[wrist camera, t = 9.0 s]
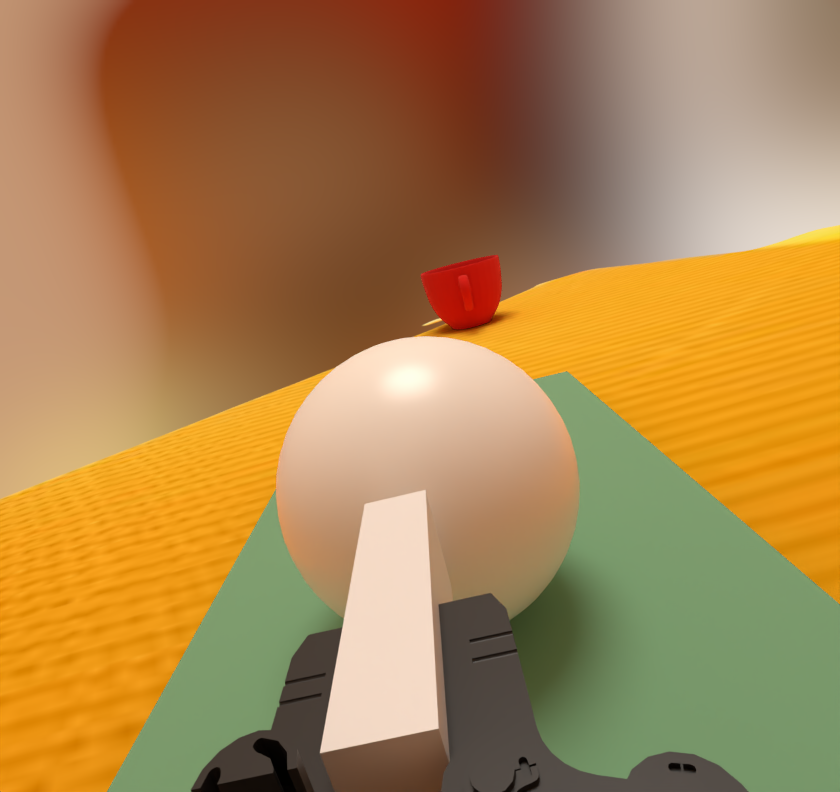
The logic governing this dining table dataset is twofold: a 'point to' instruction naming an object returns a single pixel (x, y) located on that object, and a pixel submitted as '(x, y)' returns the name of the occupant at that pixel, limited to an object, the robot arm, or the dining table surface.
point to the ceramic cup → (465, 291)
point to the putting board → (570, 635)
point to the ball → (432, 467)
